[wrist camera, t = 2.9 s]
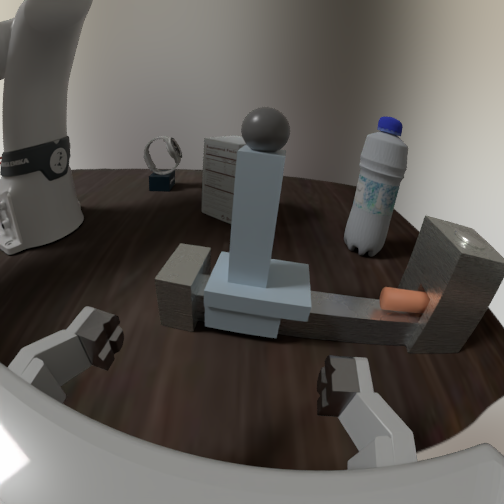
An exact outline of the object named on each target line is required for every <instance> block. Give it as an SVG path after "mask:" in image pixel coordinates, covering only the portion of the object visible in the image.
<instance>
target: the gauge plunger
mask: <svg viewBox="0 0 504 504" xmlns="http://www.w3.org/2000/svg"><path fill="white" fill-rule="evenodd" d="M429 301H430V298H429V297H428V295H427V293H426V292H420V291H413V290H405V289H397V288H389V287H384V288H383V289H382V291H381V294H380V308H381V309H382V310H392V311H402V312H413V313H424V311H425V309H426V307H427V305H428V303H429Z"/></svg>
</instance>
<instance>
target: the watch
mask: <svg viewBox="0 0 504 504" xmlns="http://www.w3.org/2000/svg"><path fill="white" fill-rule="evenodd" d="M156 139H163V140H164V142H165V143H166V148H167V150H168V152H169V154H170V155H171V157H172V158H174V159H175V163H176V166H175V167H174V168H173V169H171V170H158V169H157V168H155V164H154V163H153V161H152V159H151V157H150V154H149V151H148V149H149V146H150V144H151V143H152V142H153V141H154V140H156ZM181 158H182V153H181V150H180V147H179V145H178V144H177V142H176V141H175V140H174V139H173V138H169V137H167V136H160V137H157V138H154V139H153V140H151V141H150V142H149V143H148V144H147V145H146V147H145V150H144V159H145V162H146V164H147V166H148V168H149V169H150V170H151V171H153V173H152V174H151V175H150V176H149V191H170V190H171V188H172V187H173V186H174V184H175V168H176V167H177V166H178V165H179V163H180V160H181Z"/></svg>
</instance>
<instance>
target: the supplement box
mask: <svg viewBox="0 0 504 504" xmlns="http://www.w3.org/2000/svg"><path fill="white" fill-rule="evenodd" d="M244 145H247V144H246V143H245V141H244V140H243V137H239V136H224V137H212V138H205V140H204V157H203V158H204V159H203V181H202V212H203V213H205V214H207V215H209V216H212V217H214V218H217V219H219V220H222V221H224V222H226V223H229V224H232V210H233V197H234V185H235V173H236V161H237V151H238V150H239V149H240V148H242V147H243V146H244Z"/></svg>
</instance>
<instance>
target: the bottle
mask: <svg viewBox="0 0 504 504" xmlns="http://www.w3.org/2000/svg"><path fill="white" fill-rule="evenodd" d="M378 130H381V131H380V132H376V133H373V134H369V135H367V138H366V141H365V144H364V147H363V150H362V153H361V161H360V163H359V165H360V175H359V180H358V185H357V189H356V194H355V198H354V202H353V207H352V210H351V213H350V216H349V219H348V222H347V225H346V229H345V234H344V241H345V243H346V245H348V248H349V250H351V251H354V249H355V247H357V248H358V249H359V255H361V256H363V255H364V254H365V253H366V252H367V251H369V252H368V255H369V256H374V255H376V254H377V253H378V252H379V251H380V250H381V249H382V247H383V245H384V243H385V239H386V236H387V232H388V227H389V223H390V219H391V215H392V212H393V208H394V205H395V200H396V197H397V193H398V190H399V186H400V182H401V180H402V179H403V178H404V173H405V171H406V168H407V166H406V165H407V154H408V147H407V145H406V144H405V143H404V142H403V141H402V140H401V139H400V138H399V137H398V136H401V133H402V124H401V122H400V121H398V120H396V119H394V118H392V117H381V118H380V120H379V123H378ZM397 135H398V136H397Z"/></svg>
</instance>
